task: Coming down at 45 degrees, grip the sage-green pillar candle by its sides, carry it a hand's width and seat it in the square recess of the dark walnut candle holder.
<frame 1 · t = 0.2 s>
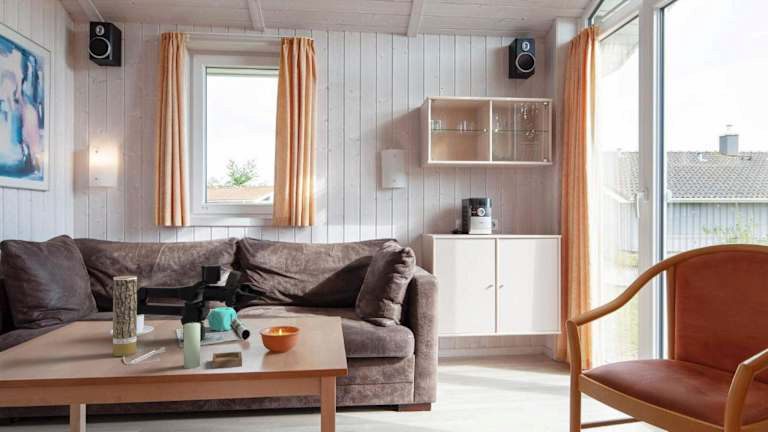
hand: (262, 295, 178), 17 cm above the table, tool horizontal, fingers open, 9 cm apart
decorative dice: (222, 329, 198), on the table
holder: (227, 363, 152), on the table
candle: (191, 366, 149), on the table
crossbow: (147, 359, 157), on the table
wooden log cylinder: (124, 354, 161), on the table
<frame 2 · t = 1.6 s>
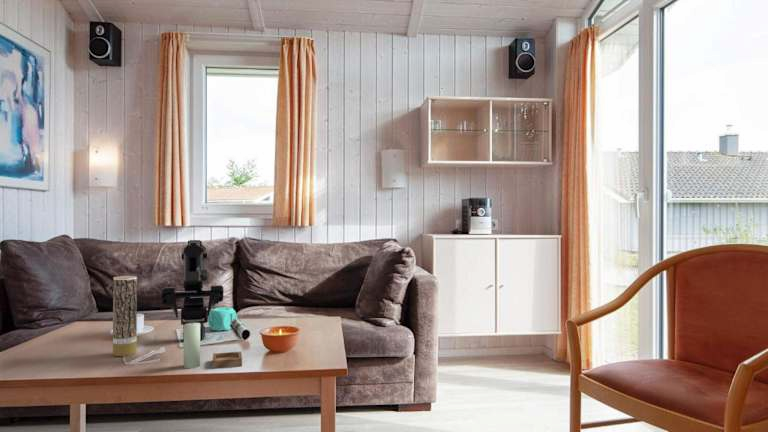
hand: (192, 316, 156), 13 cm above the table, tool tilted 45°, fingers open, 9 cm apart
nothing on the table moved.
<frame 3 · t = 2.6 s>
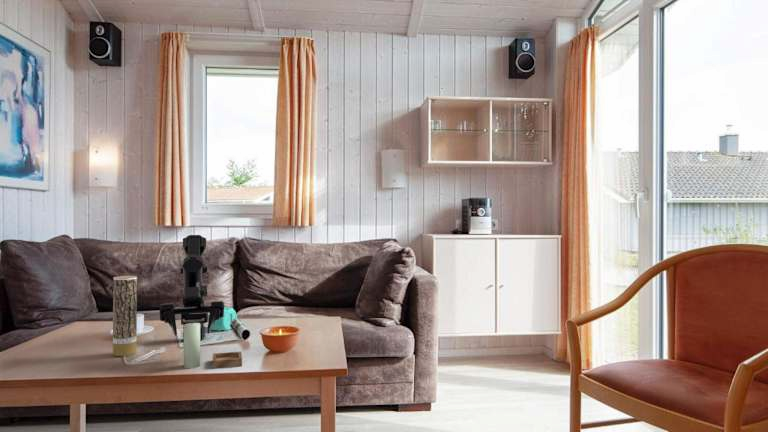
hand: (192, 333, 150), 9 cm above the table, tool tilted 45°, fingers open, 9 cm apart
nothing on the table moved.
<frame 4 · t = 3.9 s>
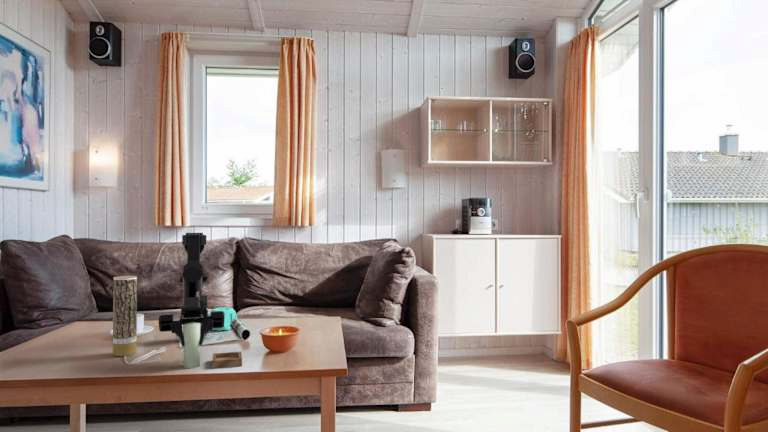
hand: (191, 345, 147), 7 cm above the table, tool tilted 45°, fingers closed on candle, 5 cm apart
candle: (191, 366, 149), on the table, touching gripper
everything else where it was.
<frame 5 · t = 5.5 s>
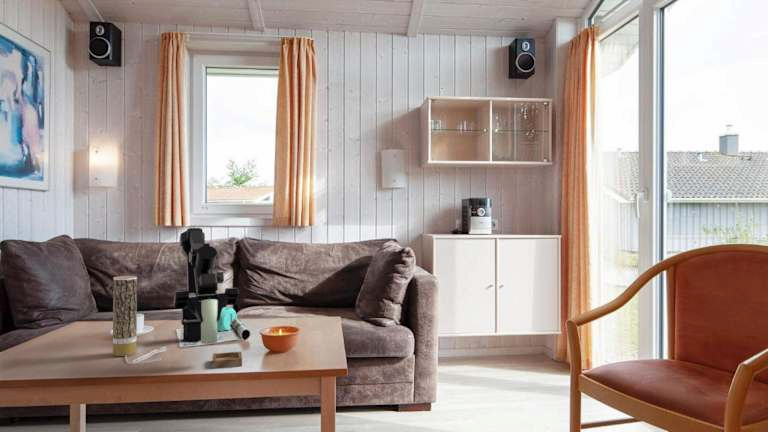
hand: (210, 320, 149), 14 cm above the table, tool tilted 45°, fingers closed on candle, 5 cm apart
candle: (209, 341, 150), point 7 cm above the table, touching gripper
everything else where it was.
when the fingers open (9 cm above the table, at t = 7.3 s): candle drops 1 cm, resting on holder.
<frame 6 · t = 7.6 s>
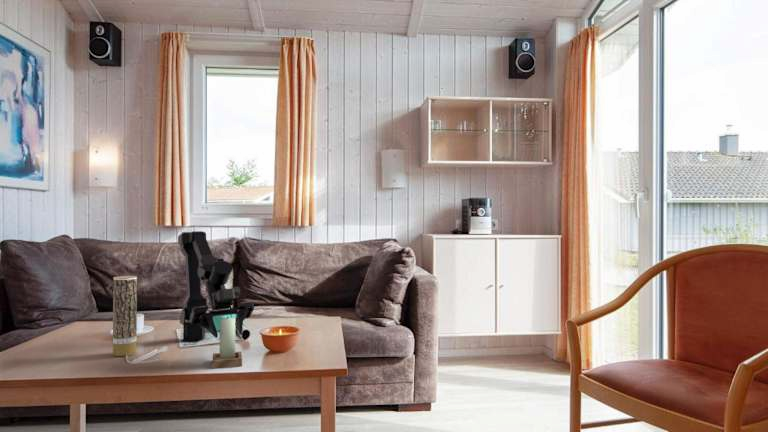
hand: (229, 335, 151), 9 cm above the table, tool tilted 45°, fingers open, 7 cm apart
candle: (227, 359, 152), point 1 cm above the table, touching holder
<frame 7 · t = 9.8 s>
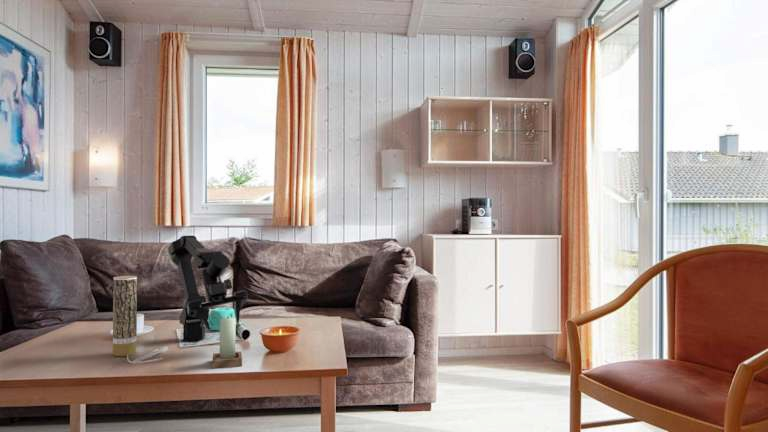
hand: (223, 326, 160), 9 cm above the table, tool tilted 35°, fingers open, 9 cm apart
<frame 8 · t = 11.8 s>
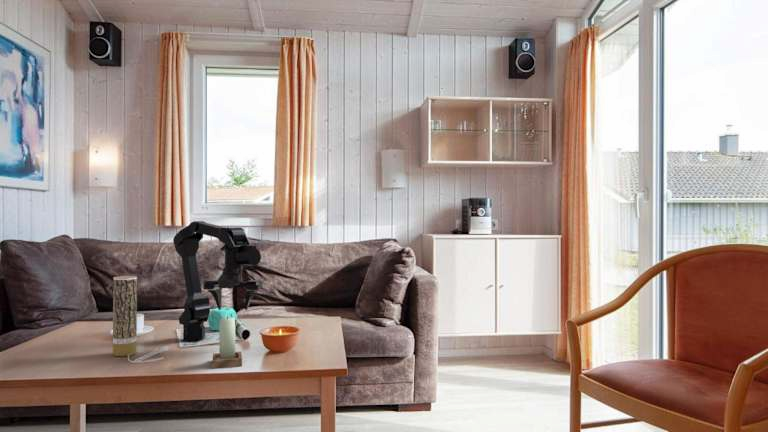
hand: (233, 309, 169), 13 cm above the table, tool pointing down, fingers open, 9 cm apart
at the end: candle 0.1 cm off-centre on the holder, point 1.0 cm above the holder's base; candle tilted 1°; the gripper is holding nothing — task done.
